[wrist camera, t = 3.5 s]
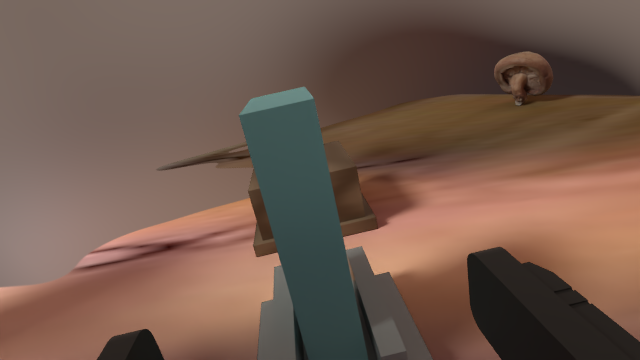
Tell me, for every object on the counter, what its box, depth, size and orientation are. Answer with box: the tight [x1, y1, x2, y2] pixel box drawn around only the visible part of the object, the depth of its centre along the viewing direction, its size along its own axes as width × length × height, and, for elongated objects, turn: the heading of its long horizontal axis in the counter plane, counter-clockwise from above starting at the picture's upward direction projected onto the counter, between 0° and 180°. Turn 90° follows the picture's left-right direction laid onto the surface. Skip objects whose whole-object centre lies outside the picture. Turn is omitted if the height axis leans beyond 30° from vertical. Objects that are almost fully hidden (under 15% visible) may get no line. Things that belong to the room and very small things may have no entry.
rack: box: [248, 141, 378, 257], centre depth 32 cm, size 10×10×5 cm
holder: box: [257, 246, 433, 360], centre depth 18 cm, size 8×8×3 cm
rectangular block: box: [239, 87, 368, 360], centre depth 16 cm, size 2×5×12 cm, turn 6°
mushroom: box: [494, 52, 553, 106], centre depth 54 cm, size 8×6×8 cm
